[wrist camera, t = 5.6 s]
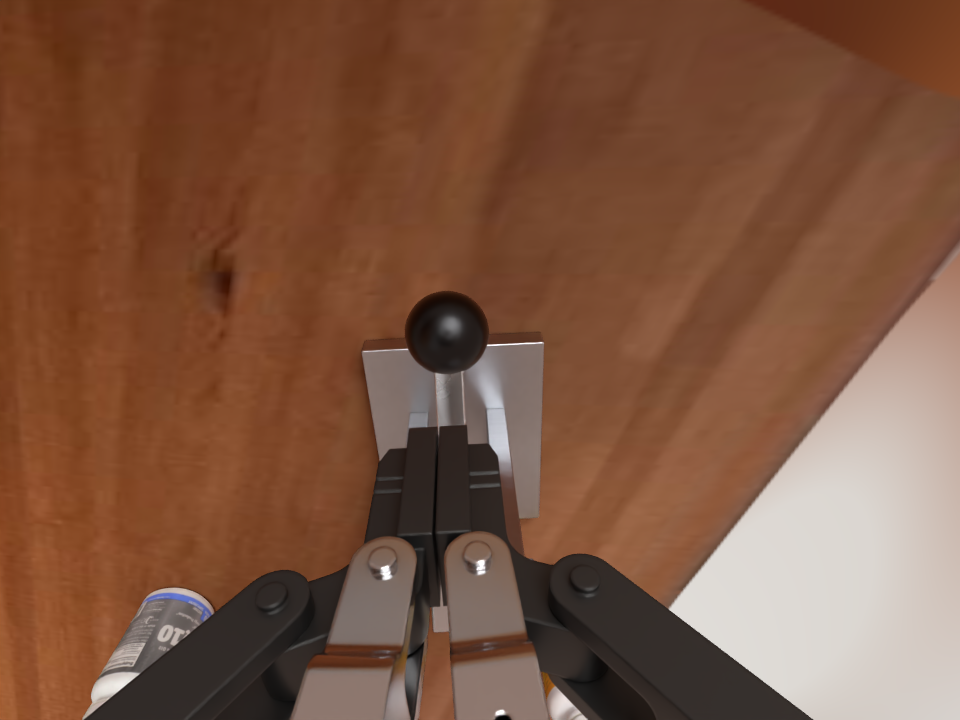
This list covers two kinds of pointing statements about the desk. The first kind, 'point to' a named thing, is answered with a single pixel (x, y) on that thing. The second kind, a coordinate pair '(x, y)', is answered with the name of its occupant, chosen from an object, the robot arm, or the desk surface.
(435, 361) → the lever handle
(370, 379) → the lever stand
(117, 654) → the pill bottle
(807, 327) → the desk surface
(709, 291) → the desk surface
